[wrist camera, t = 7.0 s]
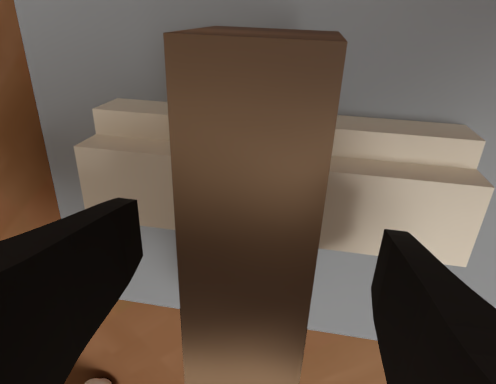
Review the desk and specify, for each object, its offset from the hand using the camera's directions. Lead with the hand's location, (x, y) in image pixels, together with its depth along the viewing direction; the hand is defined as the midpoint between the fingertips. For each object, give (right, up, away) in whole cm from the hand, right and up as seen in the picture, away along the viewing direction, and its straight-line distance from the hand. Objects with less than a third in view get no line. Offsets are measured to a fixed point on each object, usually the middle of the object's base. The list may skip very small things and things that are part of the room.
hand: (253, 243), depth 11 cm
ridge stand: (+1, +3, +6) cm, 7 cm away
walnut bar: (0, +1, +2) cm, 2 cm away
